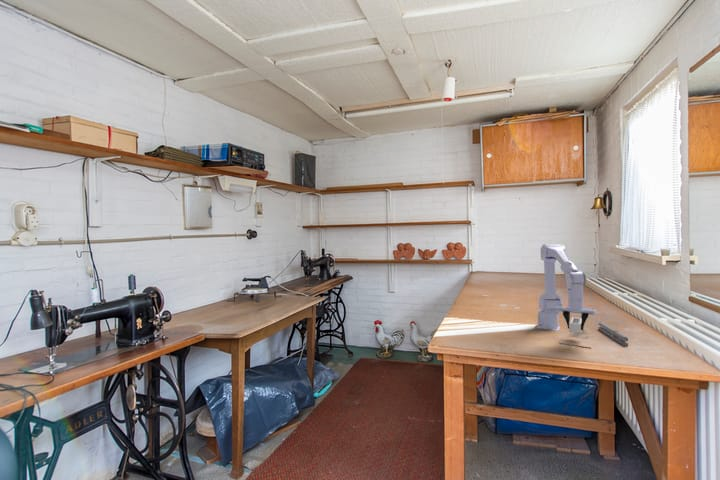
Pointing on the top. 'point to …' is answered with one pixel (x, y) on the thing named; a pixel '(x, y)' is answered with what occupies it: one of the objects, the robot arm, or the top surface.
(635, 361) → the top surface
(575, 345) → the rubber mat
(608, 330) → the metal rod assembly
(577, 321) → the steel link
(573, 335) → the post stand
